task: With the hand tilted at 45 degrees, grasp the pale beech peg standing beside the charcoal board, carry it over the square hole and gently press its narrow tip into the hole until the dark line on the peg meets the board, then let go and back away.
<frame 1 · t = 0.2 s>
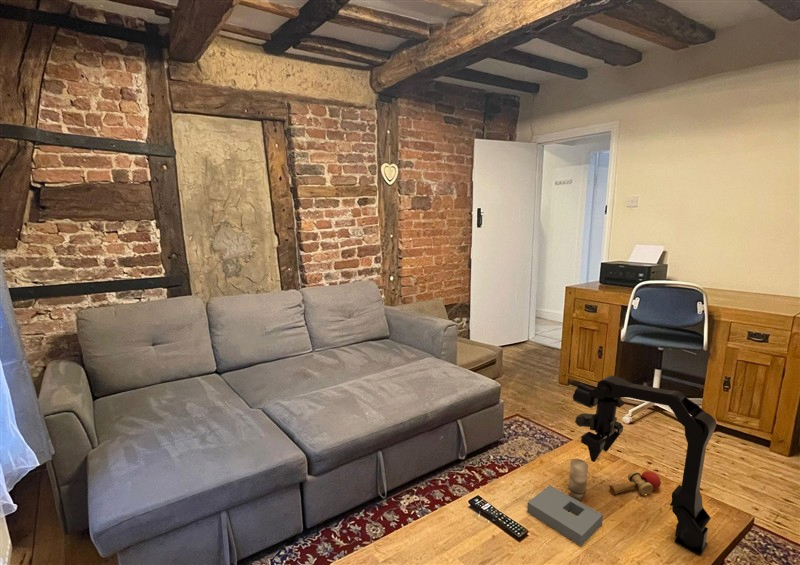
hand: (599, 456, 140), 14 cm above the table, tool pointing down, fingers open, 9 cm apart
kendama: (634, 491, 144), on the table
board: (563, 518, 132), on the table
peg: (576, 497, 141), on the table
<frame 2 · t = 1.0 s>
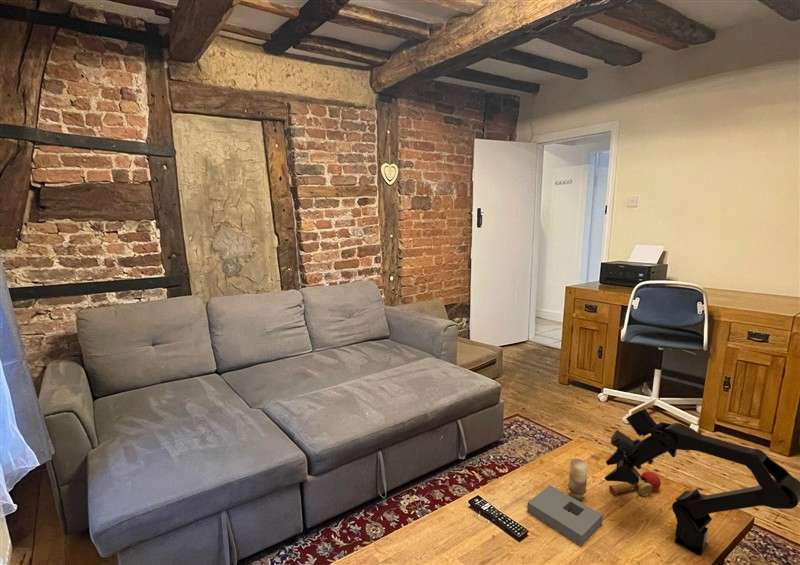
hand: (606, 471, 135), 12 cm above the table, tool tilted 45°, fingers open, 9 cm apart
nothing on the table moved.
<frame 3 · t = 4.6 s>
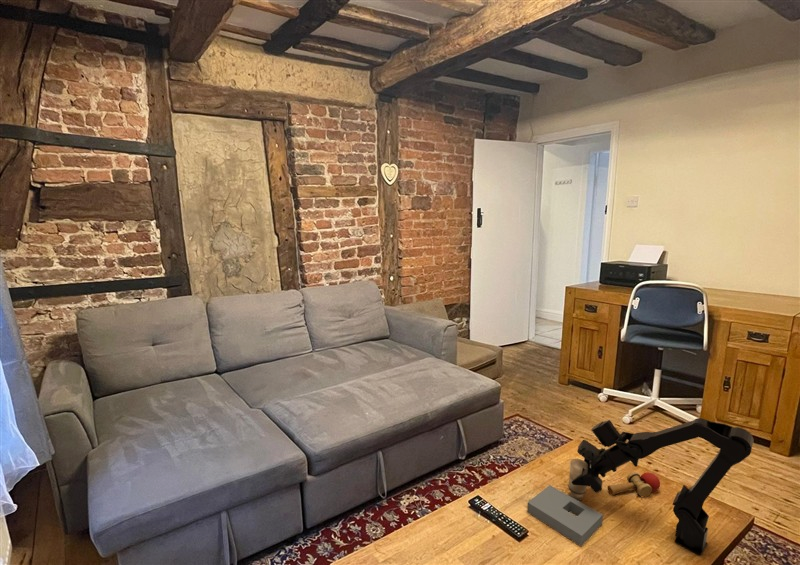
hand: (573, 478, 141), 7 cm above the table, tool tilted 45°, fingers closed on peg, 5 cm apart
peg: (576, 496, 141), on the table, touching gripper
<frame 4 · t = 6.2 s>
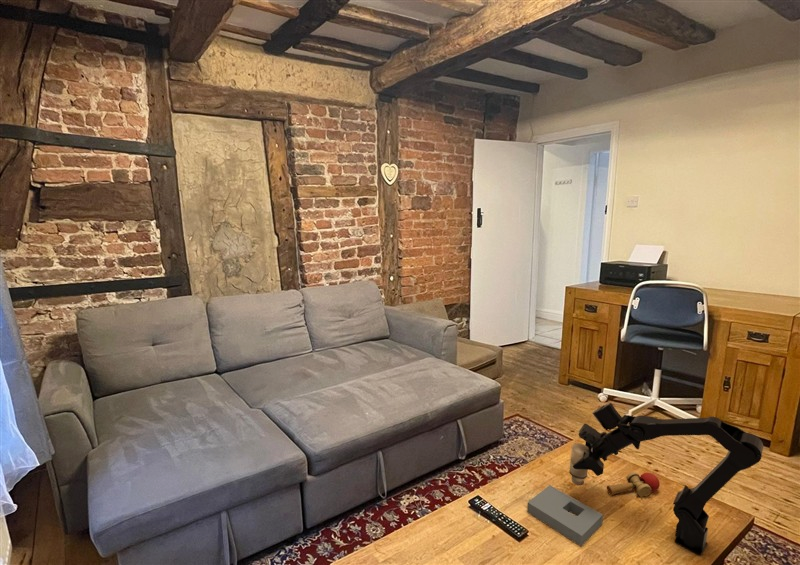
hand: (574, 462, 139), 12 cm above the table, tool tilted 45°, fingers closed on peg, 5 cm apart
peg: (577, 481, 140), point 6 cm above the table, touching gripper
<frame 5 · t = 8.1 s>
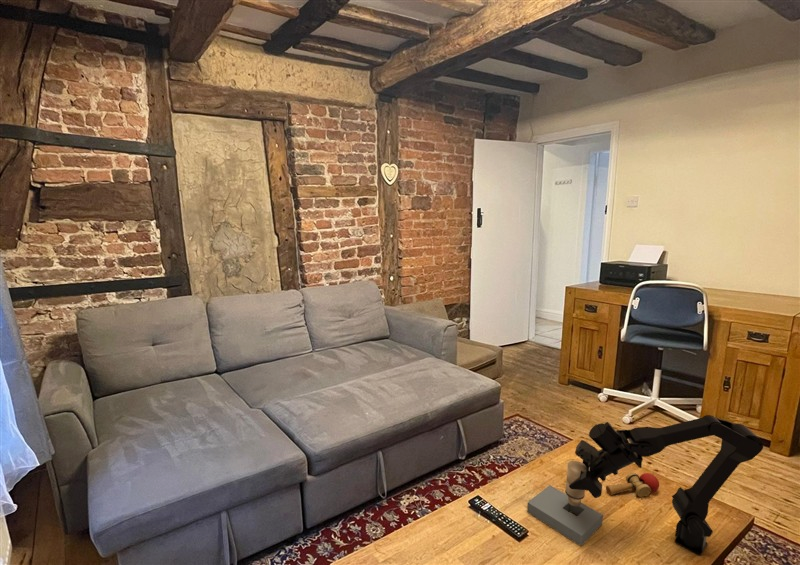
hand: (570, 481, 130), 12 cm above the table, tool tilted 45°, fingers closed on peg, 5 cm apart
peg: (574, 502, 130), point 6 cm above the table, touching gripper
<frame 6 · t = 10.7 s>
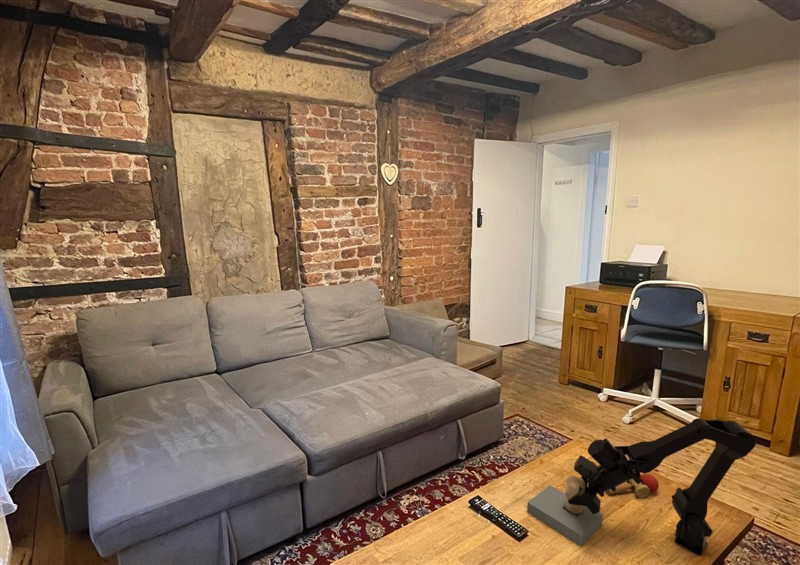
hand: (569, 496, 131), 7 cm above the table, tool tilted 45°, fingers closed on peg, 5 cm apart
peg: (572, 516, 131), point 1 cm above the table, touching gripper
when the fingers open (7 cm above the table, at t = 10.9 s): peg stays where it is, resting on board.
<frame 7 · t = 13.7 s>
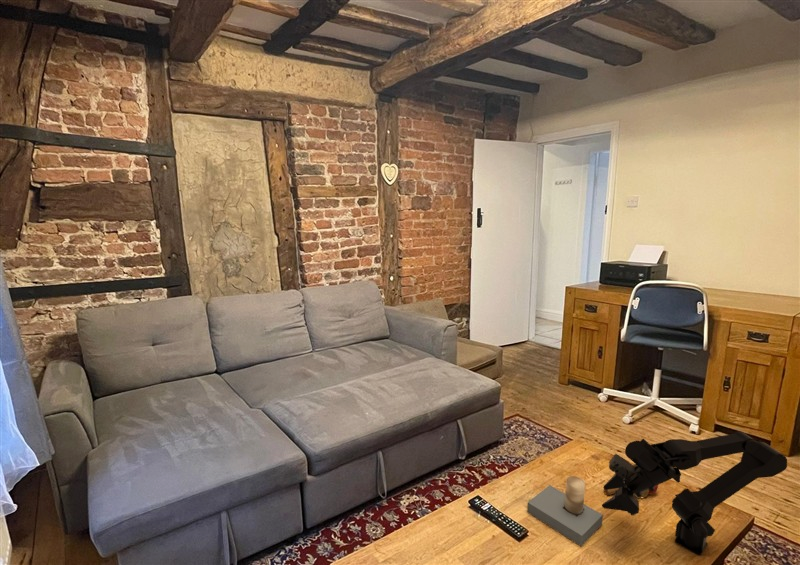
hand: (603, 497, 126), 10 cm above the table, tool tilted 45°, fingers open, 9 cm apart
peg: (572, 517, 131), resting on board
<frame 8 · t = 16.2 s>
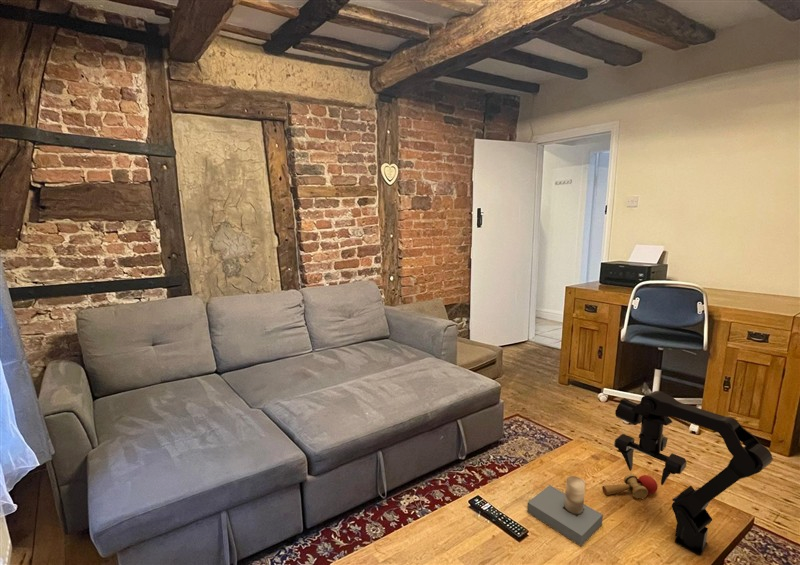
hand: (646, 477, 131), 13 cm above the table, tool pointing down, fingers open, 9 cm apart
at the end: peg 0.0 cm from the target spot, point 0.5 cm above the table; peg tilted 0°; the gripper is holding nothing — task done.
